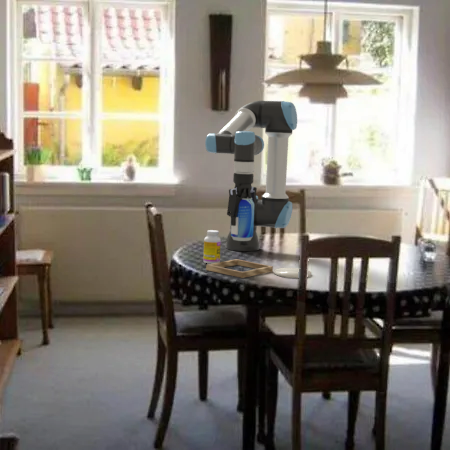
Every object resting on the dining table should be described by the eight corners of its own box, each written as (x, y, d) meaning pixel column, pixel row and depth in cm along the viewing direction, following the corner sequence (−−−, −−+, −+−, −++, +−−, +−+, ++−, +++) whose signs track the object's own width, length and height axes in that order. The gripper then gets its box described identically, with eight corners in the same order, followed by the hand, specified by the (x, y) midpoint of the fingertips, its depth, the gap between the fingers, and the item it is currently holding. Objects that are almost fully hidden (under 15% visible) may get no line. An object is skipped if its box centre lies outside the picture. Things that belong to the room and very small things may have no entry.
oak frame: (236, 264, 315) (236, 259, 314) (272, 271, 303) (272, 266, 303) (206, 269, 301) (206, 264, 301) (242, 277, 290) (242, 272, 289)
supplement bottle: (217, 265, 311) (219, 232, 310) (201, 263, 313) (202, 231, 311) (221, 261, 318) (222, 230, 316) (205, 260, 319) (206, 229, 317)
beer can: (227, 240, 299) (229, 197, 296) (235, 236, 306) (236, 195, 304) (248, 242, 296) (250, 199, 293) (255, 238, 304) (257, 197, 301)
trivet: (288, 268, 309) (288, 266, 309) (318, 274, 300) (318, 272, 300) (266, 273, 299) (266, 271, 299) (296, 280, 290) (297, 277, 290)
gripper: (252, 170, 307) (250, 228, 310) (218, 173, 291) (216, 234, 295) (268, 172, 302) (265, 231, 306) (233, 175, 286) (231, 237, 290)
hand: (241, 232), depth 300 cm, fingers closed on beer can, 7 cm apart
